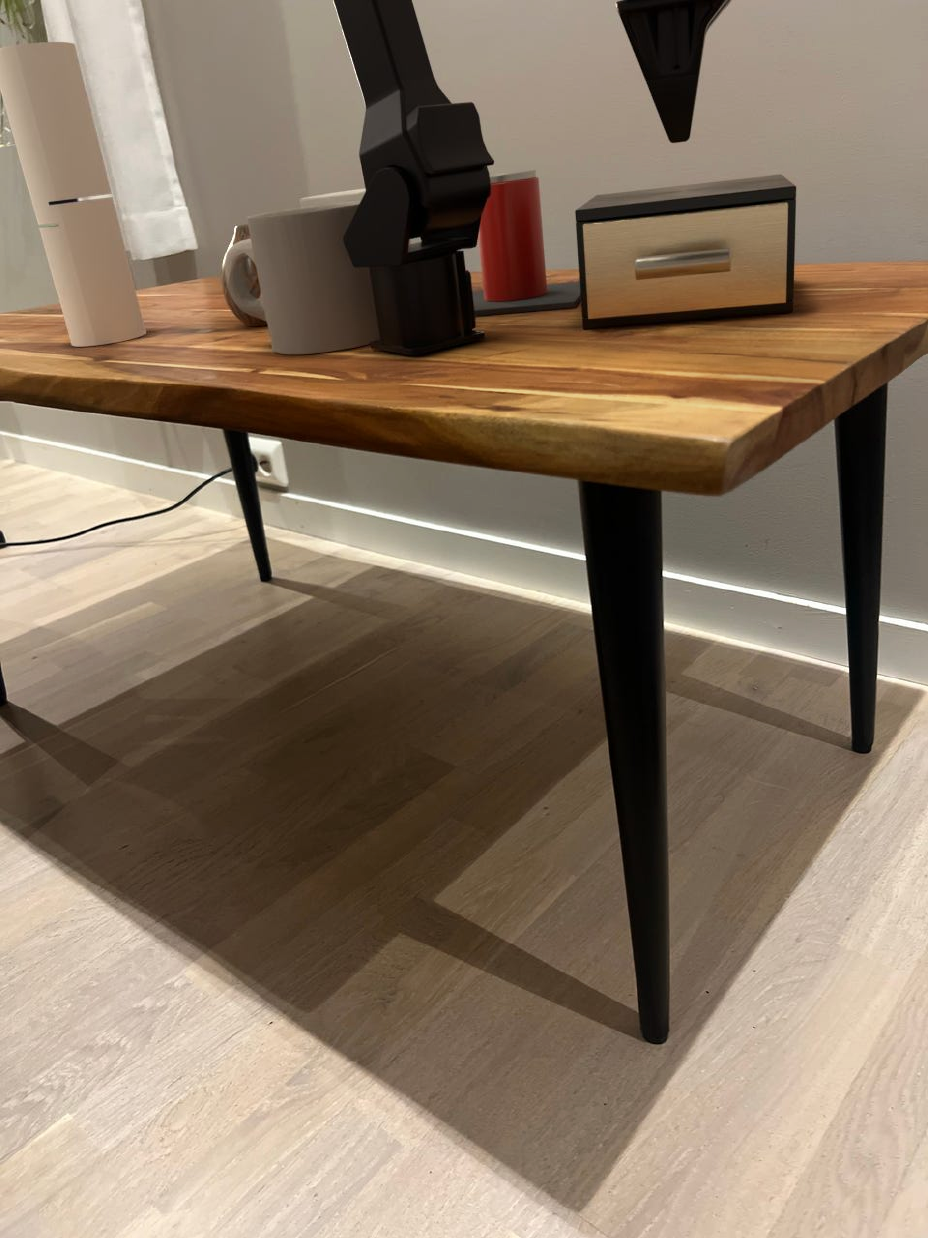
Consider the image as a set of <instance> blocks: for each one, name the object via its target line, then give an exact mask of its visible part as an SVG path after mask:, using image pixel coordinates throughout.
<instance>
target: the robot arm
mask: <svg viewBox="0 0 928 1238" xmlns="http://www.w3.org/2000/svg"><path fill="white" fill-rule="evenodd" d="M332 1H333V5H334V7H335V11H336V14H337V18H338V21H339V25H340V27H341V30H342V33H343V37H344V41H345V43H346V46H347V50H348V53H349V57H350V59H351V63H352V67H353V69H354V73H355V76H356V80H357V82H358V84H359V89H360V93H361V95H362V98H363V102H364V107H365V113H364V119H363V125H362V133H361V139H360V144H359V149H358V150H359V151H358V158H359V163H360V164H359V165H360V169H361V174H362V179H363V184H364V189H365V190H366V192H365V194H364V196H363V198H362V200H361V202H360V204H359V206H358V208H357V210H356V212H355V214H354V216H353V218H352V220H351V222H350V224H349V226H348V228H347V230H346V232H345V234H344V236H343V242H344V245H345V247H346V250H347V252H348V255H349V257H350V260H351V262H352V265H353V266H354V267H369V270H370V277H371V284H372V290H373V297H374V304H375V310H376V317H377V324H378V330H379V337H380V340H376V341H372V342H370V344H369V348H370V349H371V350H377V351H384V352H389V353H396V354H403V355H409V356H417V355H422V354H427V353H431V352H436V351H439V350H443V349H447V348H451V347H455V346H459V345H463V344H468V343H471V342H475V341H479V340H483V339H485V338H486V337H487V336H486V331H485V330H477V329H476V326H477V321H476V316H475V311H474V301H473V292H472V291H473V285H472V284H473V283H472V275H471V272H470V271H469V270H468V269H466V262H465V261H466V260H465V252H464V250H468V249H474V248H476V247H477V245H478V235H479V229H480V223H481V217H482V213H483V211H484V208H485V205H486V202H487V198H489V197H490V195H491V181H490V175H491V173H490V171H489V168H488V167H489V166H493V165H495V160H494V159H493V157H492V155H491V154H490V151H488V149H487V146H486V144H485V141H484V137H483V131H482V124H481V118H480V114H479V111H478V109H477V108H476V105H475V104H474V102H472V101H467V102H466V101H465V102H455V103H452V101H451V100H450V99H449V98H448V97H447V95H446V94H445V93H444V92H443V90H442V89H441V88H440V87H439V85H438V82H437V81H436V78H435V76H434V71H433V69H432V65H431V62H430V58H429V55H428V51H427V47H426V43H425V41H424V37H423V34H422V30H421V27H420V22H419V20H418V17H417V12H416V10H415V5H414V3H413V0H332ZM731 2H732V0H618V1H615V2H614V5H615V9H616V11H617V14H618V16H619V19H620V21H621V23H622V26H623V28H624V31H625V33H626V36H627V38H628V41H629V43H630V46H631V48H632V52H633V54H634V56H635V59H636V61H637V64H638V66H639V69H640V71H641V73H642V76H643V79H644V81H645V83H646V86H647V87H648V88H647V89H648V91H649V93H650V96H651V99H652V101H653V103H654V106H655V108H656V111H657V113H658V116H659V119H660V122H661V124H662V126H663V129H664V131H665V134H666V137H667V139H668V141H669V142H670V143H672V144H677V143H678V144H679V143H685V142H687V141H689V140H690V138H691V133H692V127H693V121H694V113H695V107H696V102H697V101H696V100H697V95H698V94H697V93H698V87H699V81H700V74H701V67H702V62H703V55H704V48H705V41H706V36H707V33H708V31H709V29H710V28H711V27H712V26H713V24H714V23H715V22H716V21H717V20H718V18H719V17H720V15H721V14H722V13H723V12H724V11H725V9H727V7H728V6H729V5H730V4H731ZM418 238H419V239H420V241H419V242H414V243H411V244H409V239H410V240H413V239H418Z"/></svg>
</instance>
